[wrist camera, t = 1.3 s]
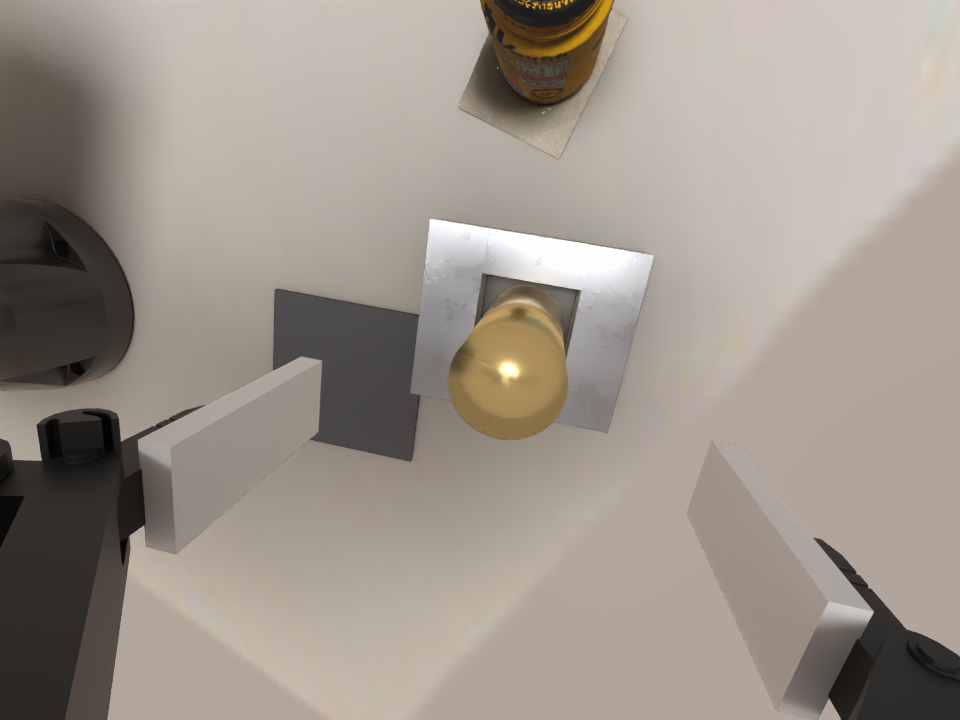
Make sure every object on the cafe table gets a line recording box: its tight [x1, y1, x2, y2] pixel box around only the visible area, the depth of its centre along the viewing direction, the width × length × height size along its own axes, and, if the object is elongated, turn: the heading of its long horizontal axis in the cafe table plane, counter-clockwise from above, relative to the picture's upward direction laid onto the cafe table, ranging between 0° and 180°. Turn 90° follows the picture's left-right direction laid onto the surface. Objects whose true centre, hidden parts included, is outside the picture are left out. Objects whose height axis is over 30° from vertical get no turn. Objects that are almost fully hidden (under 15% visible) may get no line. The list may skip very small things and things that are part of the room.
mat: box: [273, 289, 420, 461], centre depth 36 cm, size 12×12×1 cm
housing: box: [410, 219, 654, 433], centre depth 32 cm, size 14×12×3 cm
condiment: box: [458, 0, 629, 159], centre depth 23 cm, size 7×8×12 cm
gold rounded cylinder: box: [448, 285, 568, 440], centre depth 27 cm, size 5×5×14 cm
